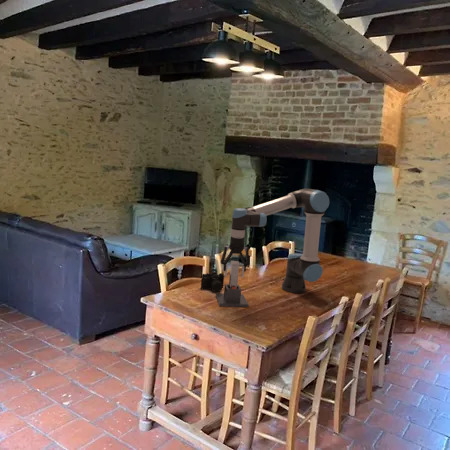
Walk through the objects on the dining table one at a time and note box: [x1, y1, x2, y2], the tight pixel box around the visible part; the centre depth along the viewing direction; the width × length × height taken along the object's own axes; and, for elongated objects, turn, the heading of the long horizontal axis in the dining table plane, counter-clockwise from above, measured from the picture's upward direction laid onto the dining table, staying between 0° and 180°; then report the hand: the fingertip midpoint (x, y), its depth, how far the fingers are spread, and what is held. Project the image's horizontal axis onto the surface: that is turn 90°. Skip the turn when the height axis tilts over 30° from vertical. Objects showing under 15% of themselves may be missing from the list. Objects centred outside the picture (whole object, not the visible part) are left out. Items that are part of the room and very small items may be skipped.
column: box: [228, 260, 241, 289], centre depth 233 cm, size 4×6×21 cm, turn 8°
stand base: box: [215, 283, 250, 308], centre depth 234 cm, size 16×16×10 cm
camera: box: [200, 271, 225, 293], centre depth 251 cm, size 14×11×10 cm
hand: (233, 276), depth 232 cm, fingers open, 9 cm apart
